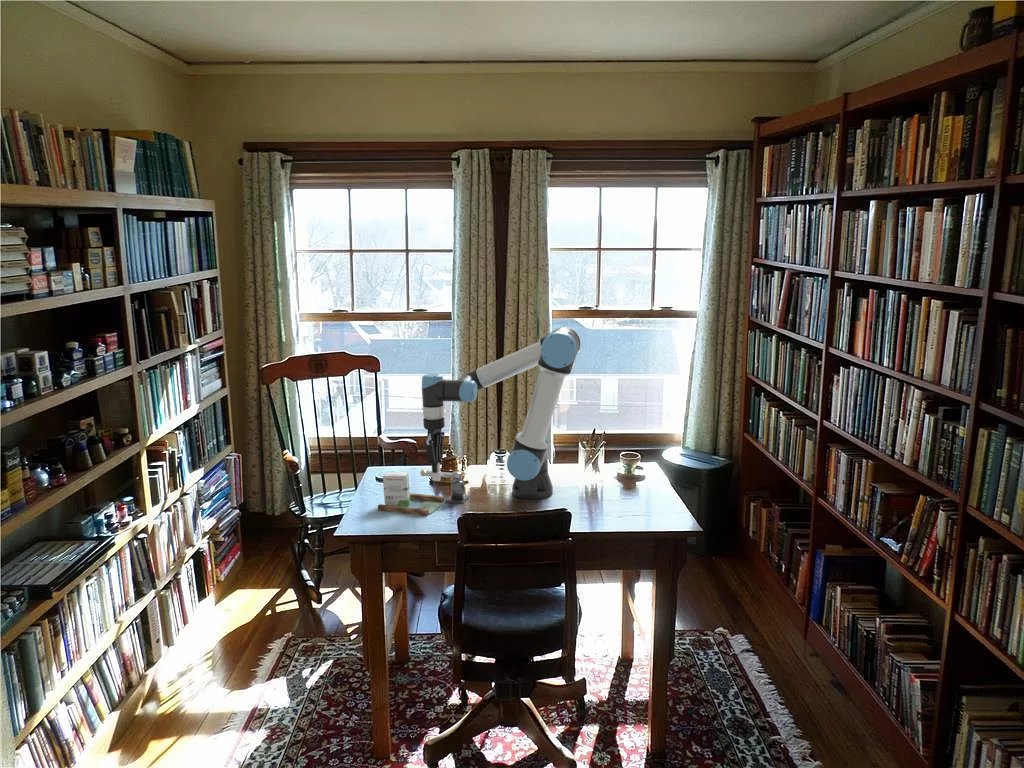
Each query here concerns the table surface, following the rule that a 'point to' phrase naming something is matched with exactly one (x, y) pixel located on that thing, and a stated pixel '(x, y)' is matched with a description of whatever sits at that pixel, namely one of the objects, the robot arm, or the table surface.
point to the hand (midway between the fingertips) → (436, 480)
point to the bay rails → (408, 509)
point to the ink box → (396, 489)
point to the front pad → (430, 506)
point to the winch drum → (458, 492)
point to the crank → (444, 474)
